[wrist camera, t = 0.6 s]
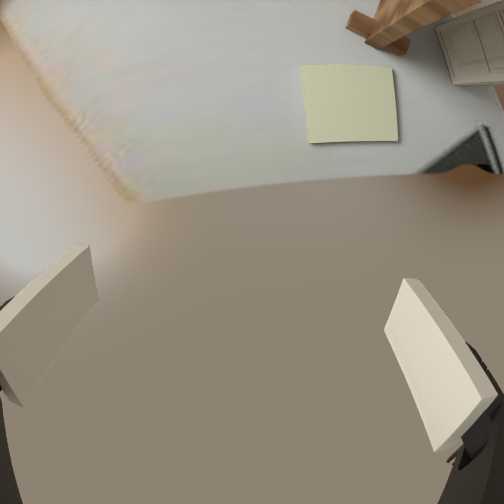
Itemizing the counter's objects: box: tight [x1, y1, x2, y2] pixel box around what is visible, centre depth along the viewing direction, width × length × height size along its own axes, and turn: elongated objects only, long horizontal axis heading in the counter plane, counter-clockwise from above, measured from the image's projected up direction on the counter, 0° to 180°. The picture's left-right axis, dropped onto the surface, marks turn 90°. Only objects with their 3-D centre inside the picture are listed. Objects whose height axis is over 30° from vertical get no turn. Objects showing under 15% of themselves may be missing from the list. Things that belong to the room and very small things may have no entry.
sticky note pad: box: [299, 65, 398, 143], centre depth 32 cm, size 10×12×1 cm
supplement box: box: [435, 0, 504, 85], centre depth 20 cm, size 10×9×17 cm
